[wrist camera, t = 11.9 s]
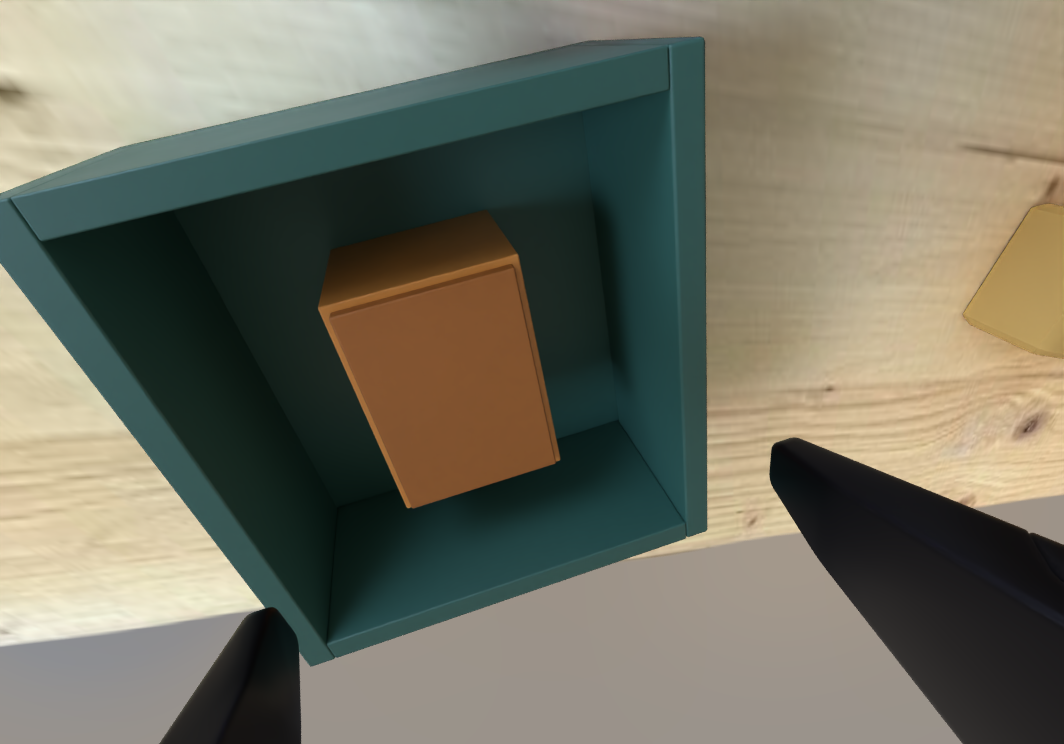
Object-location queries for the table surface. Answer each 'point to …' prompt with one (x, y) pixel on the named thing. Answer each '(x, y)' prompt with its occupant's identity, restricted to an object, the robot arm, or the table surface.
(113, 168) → the open green storage bin
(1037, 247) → the rubber stamp
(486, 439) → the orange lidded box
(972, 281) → the table surface
